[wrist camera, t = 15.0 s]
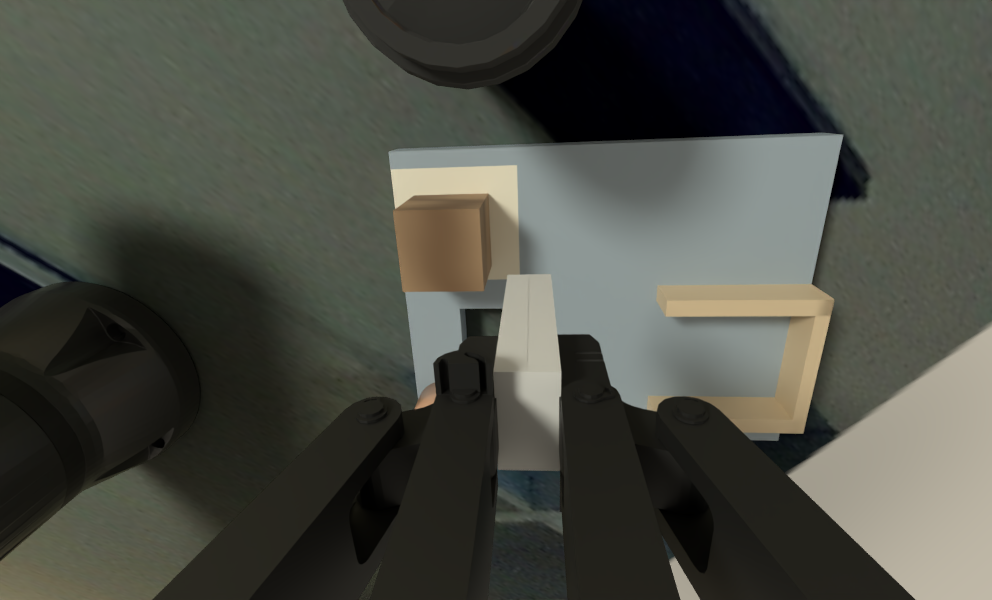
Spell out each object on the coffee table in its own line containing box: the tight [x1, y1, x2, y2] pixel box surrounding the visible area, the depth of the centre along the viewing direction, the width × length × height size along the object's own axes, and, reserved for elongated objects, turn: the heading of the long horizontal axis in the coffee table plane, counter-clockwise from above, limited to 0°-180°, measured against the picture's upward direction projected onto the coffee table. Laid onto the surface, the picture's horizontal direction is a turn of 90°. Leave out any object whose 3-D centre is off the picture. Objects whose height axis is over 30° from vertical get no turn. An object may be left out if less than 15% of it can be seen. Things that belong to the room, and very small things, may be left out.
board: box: [389, 133, 843, 441], centre depth 31 cm, size 25×20×4 cm
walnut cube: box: [393, 193, 492, 292], centre depth 28 cm, size 4×4×4 cm
